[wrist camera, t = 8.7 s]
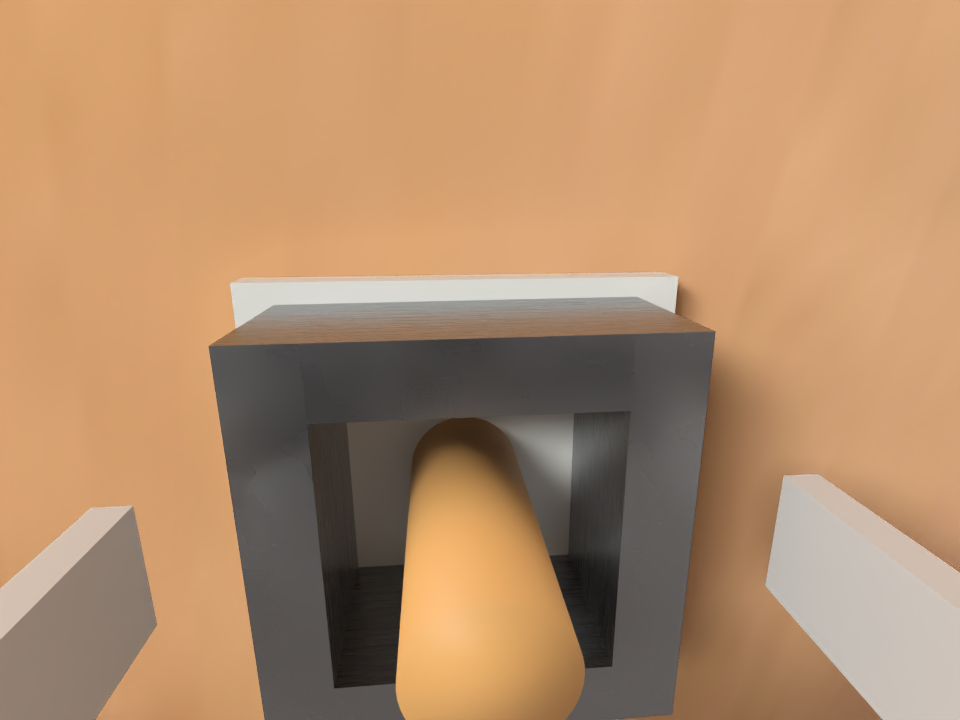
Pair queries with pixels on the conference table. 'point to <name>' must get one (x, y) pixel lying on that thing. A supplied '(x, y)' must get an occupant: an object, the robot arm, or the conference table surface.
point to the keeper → (468, 513)
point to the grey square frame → (461, 394)
